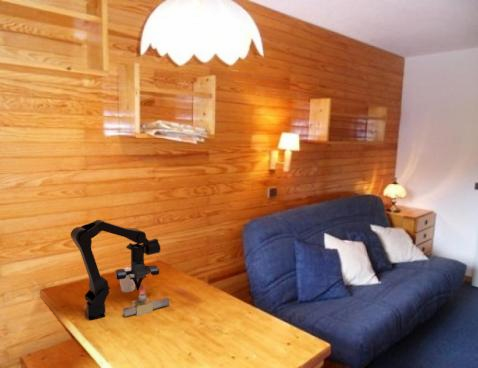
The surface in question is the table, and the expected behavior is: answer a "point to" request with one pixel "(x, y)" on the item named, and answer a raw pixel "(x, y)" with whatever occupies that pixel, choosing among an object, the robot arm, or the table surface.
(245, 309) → the table surface
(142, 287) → the lever
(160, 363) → the table surface
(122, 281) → the white cup
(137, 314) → the valve
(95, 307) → the robot arm
